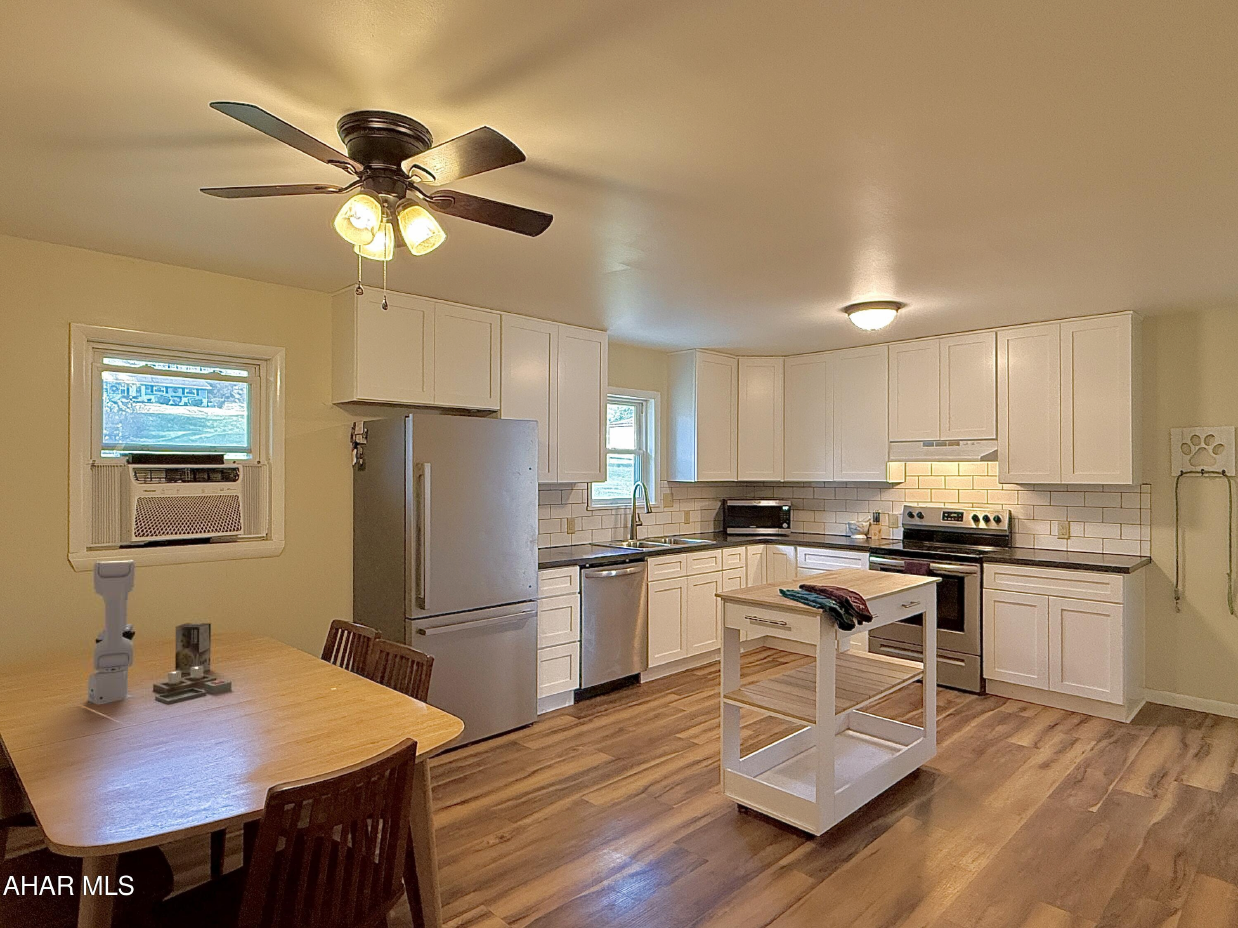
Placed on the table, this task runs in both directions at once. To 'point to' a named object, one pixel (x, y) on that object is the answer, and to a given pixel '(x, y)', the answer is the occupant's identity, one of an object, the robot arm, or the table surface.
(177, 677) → the block
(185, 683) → the pallet
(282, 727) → the table surface
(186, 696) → the shallow grey tray
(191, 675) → the billet
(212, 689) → the button housing
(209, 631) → the coffee box
